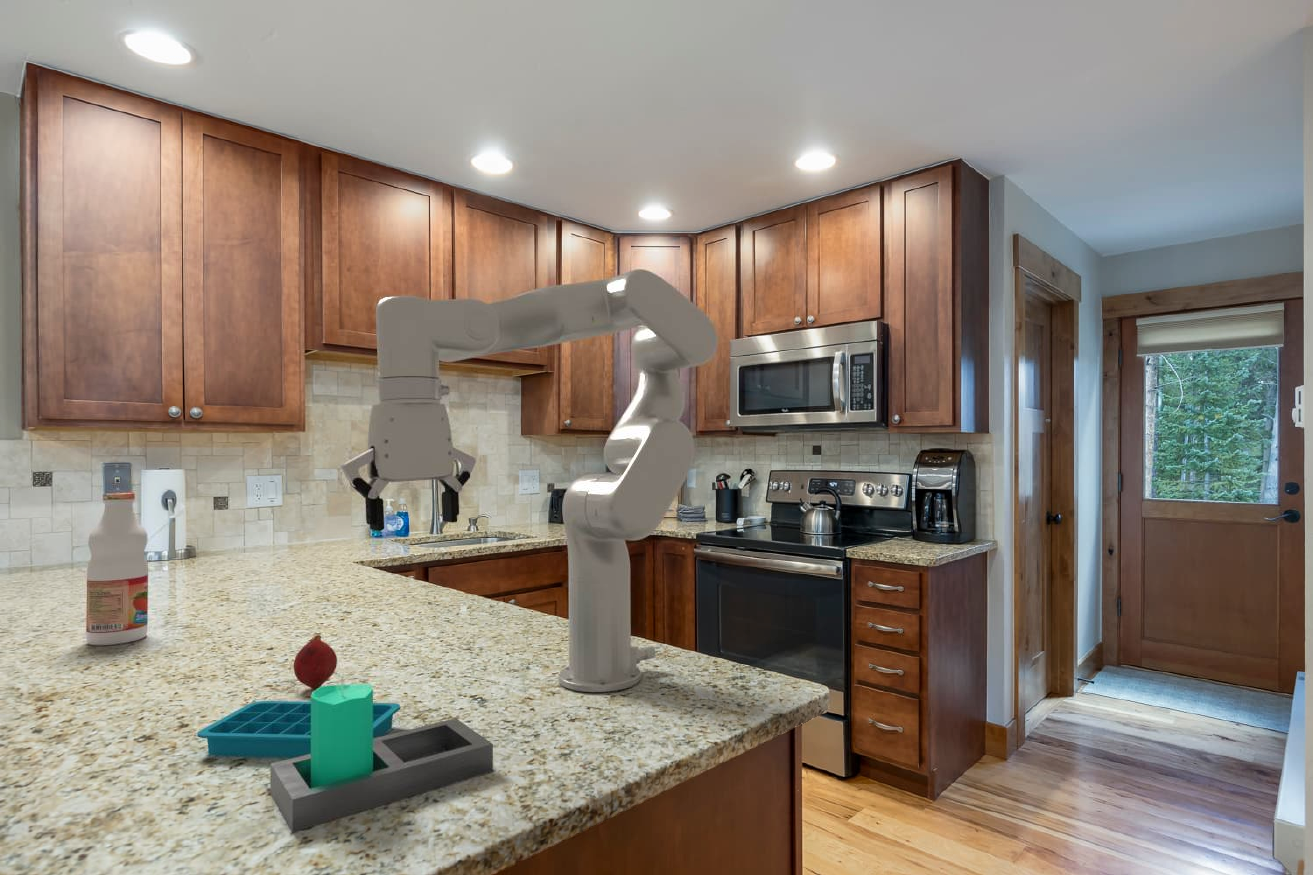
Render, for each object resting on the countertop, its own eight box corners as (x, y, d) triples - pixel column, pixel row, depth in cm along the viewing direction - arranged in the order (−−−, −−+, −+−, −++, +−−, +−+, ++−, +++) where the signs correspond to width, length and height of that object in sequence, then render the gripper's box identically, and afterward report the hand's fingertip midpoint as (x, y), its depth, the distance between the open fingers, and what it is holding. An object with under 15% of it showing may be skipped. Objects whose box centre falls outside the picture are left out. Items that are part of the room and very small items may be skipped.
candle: (296, 802, 72) (296, 681, 72) (342, 777, 77) (343, 665, 78) (341, 812, 70) (341, 688, 70) (386, 786, 75) (386, 670, 76)
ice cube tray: (360, 765, 81) (360, 738, 81) (191, 761, 83) (191, 734, 83) (403, 726, 93) (403, 703, 93) (254, 723, 94) (255, 700, 94)
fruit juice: (82, 640, 137) (84, 493, 138) (142, 631, 144) (144, 491, 145) (89, 649, 131) (91, 495, 131) (151, 639, 137) (153, 493, 138)
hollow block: (455, 743, 86) (455, 718, 86) (492, 771, 79) (492, 743, 79) (270, 792, 74) (270, 763, 74) (292, 832, 66) (292, 799, 66)
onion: (319, 696, 104) (319, 640, 104) (284, 694, 105) (284, 639, 105) (344, 683, 109) (344, 631, 110) (311, 681, 111) (311, 629, 111)
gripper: (459, 396, 101) (463, 517, 101) (330, 395, 90) (335, 531, 90) (484, 392, 96) (489, 520, 96) (350, 390, 84) (355, 535, 84)
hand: (414, 525), depth 93 cm, fingers open, 9 cm apart
